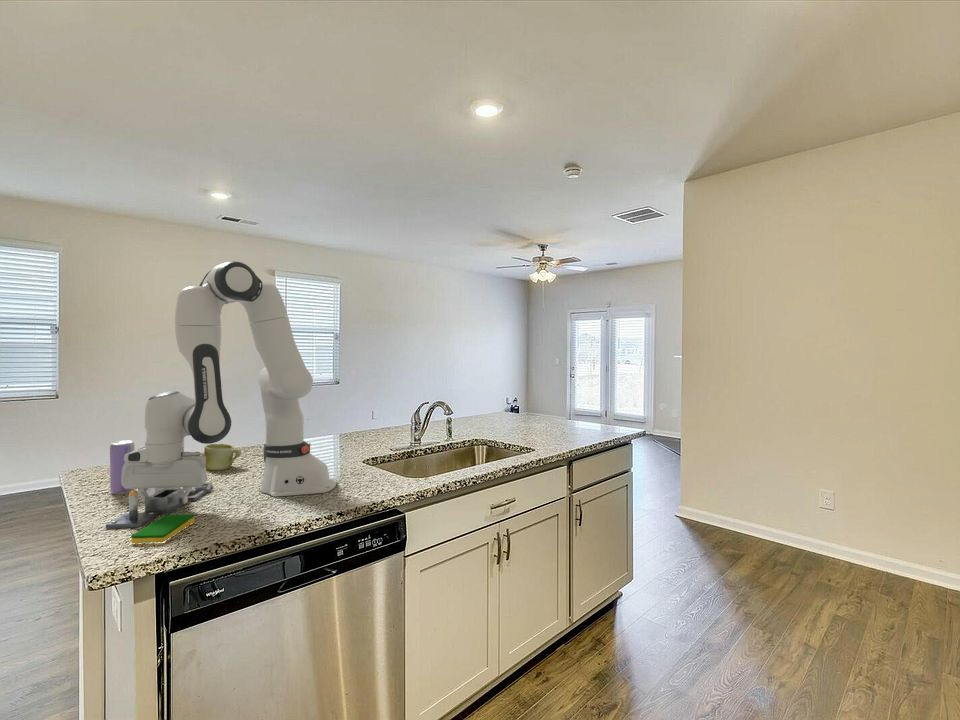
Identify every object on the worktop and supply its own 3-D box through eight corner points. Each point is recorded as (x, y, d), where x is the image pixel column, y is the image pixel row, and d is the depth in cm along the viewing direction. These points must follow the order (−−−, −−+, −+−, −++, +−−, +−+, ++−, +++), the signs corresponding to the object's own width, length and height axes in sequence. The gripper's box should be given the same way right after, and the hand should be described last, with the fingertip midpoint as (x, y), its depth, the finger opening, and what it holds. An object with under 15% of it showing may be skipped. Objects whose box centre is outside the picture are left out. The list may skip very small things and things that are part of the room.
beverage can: (122, 495, 142) (121, 444, 142) (105, 494, 143) (104, 443, 143) (140, 489, 148) (139, 440, 148) (123, 488, 149) (123, 439, 149)
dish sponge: (195, 523, 122) (195, 513, 122) (163, 545, 108) (163, 535, 108) (165, 523, 121) (165, 514, 121) (130, 546, 108) (130, 535, 107)
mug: (191, 466, 169) (202, 438, 172) (210, 468, 179) (221, 442, 182) (220, 475, 167) (231, 446, 169) (238, 476, 176) (249, 450, 179)
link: (184, 504, 135) (184, 488, 135) (167, 515, 126) (167, 498, 126) (163, 504, 134) (163, 488, 134) (145, 515, 125) (144, 499, 125)
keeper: (159, 516, 125) (159, 485, 125) (141, 527, 117) (141, 495, 117) (126, 517, 124) (125, 486, 124) (105, 528, 117) (105, 496, 116)
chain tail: (220, 485, 153) (220, 479, 153) (197, 500, 138) (197, 494, 138) (196, 485, 152) (196, 479, 152) (171, 501, 137) (171, 494, 137)
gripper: (211, 449, 134) (211, 498, 135) (131, 450, 132) (132, 500, 132) (200, 454, 128) (201, 506, 128) (117, 455, 126) (117, 508, 126)
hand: (165, 503), depth 130 cm, fingers open, 8 cm apart
